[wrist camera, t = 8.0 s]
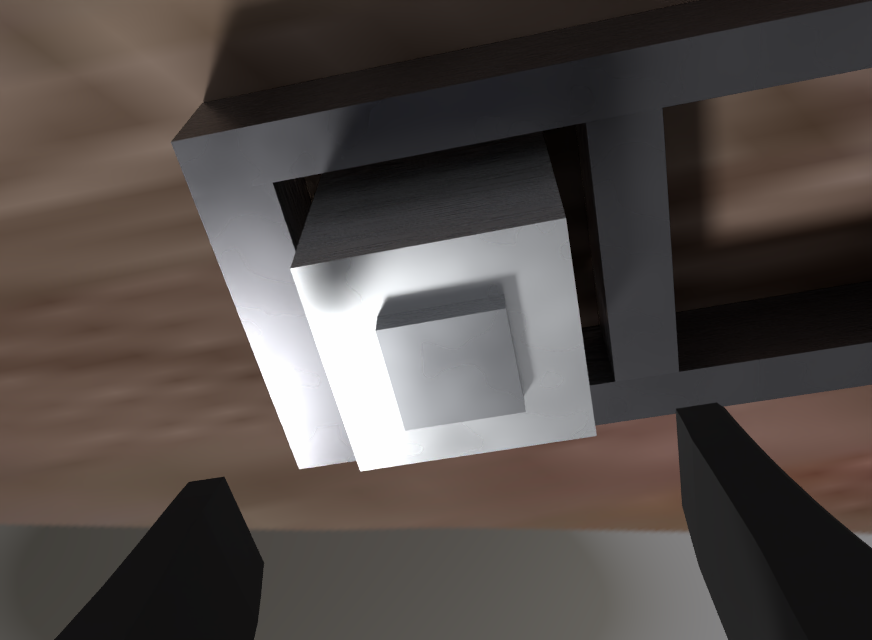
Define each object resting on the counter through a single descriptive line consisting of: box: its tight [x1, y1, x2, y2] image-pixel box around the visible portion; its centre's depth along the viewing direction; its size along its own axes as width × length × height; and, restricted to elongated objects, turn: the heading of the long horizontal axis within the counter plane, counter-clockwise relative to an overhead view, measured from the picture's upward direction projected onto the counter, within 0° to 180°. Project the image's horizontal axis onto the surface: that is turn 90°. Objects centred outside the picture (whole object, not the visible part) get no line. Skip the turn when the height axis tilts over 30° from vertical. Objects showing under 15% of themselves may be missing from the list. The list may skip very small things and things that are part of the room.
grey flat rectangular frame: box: [171, 0, 872, 469], centre depth 19 cm, size 18×9×2 cm, turn 102°
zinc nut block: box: [290, 131, 597, 471], centre depth 18 cm, size 5×5×6 cm
